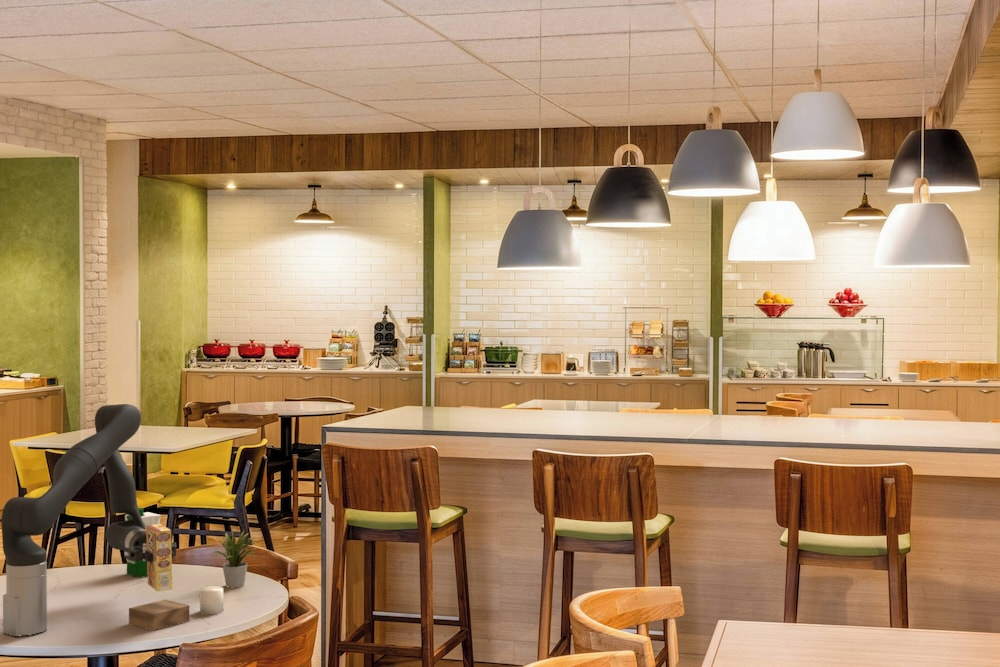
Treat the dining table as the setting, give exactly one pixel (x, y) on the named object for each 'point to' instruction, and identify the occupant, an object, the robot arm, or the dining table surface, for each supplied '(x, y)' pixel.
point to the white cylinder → (211, 600)
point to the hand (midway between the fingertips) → (161, 557)
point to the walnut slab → (158, 614)
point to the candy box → (159, 557)
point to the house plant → (235, 559)
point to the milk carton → (138, 566)
